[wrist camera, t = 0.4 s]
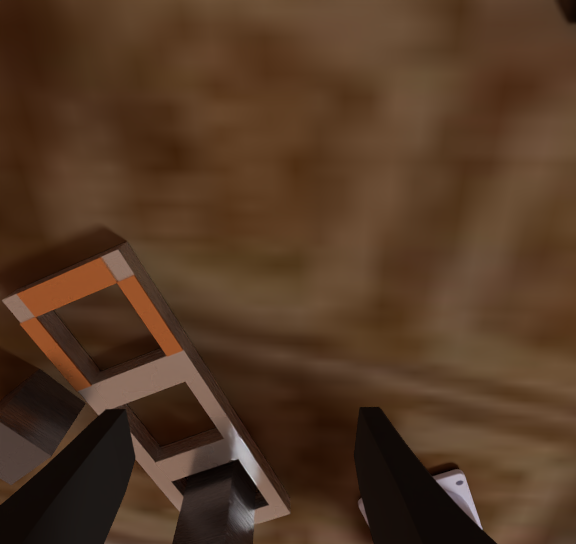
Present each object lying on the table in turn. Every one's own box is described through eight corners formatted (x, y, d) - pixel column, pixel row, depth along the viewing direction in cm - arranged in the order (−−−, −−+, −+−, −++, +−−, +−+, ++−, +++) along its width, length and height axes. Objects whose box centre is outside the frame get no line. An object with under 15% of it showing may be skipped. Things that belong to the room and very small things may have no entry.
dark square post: (256, 485, 27) (250, 580, 22) (213, 498, 28) (197, 595, 22) (234, 453, 26) (223, 546, 20) (190, 468, 26) (167, 563, 21)
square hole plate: (290, 497, 28) (290, 515, 27) (206, 523, 29) (203, 541, 27) (126, 241, 19) (117, 249, 18) (16, 289, 20) (0, 301, 19)
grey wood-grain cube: (86, 402, 24) (51, 456, 20) (50, 428, 25) (10, 485, 21) (40, 368, 23) (-6, 418, 19) (4, 396, 23) (-47, 450, 20)
